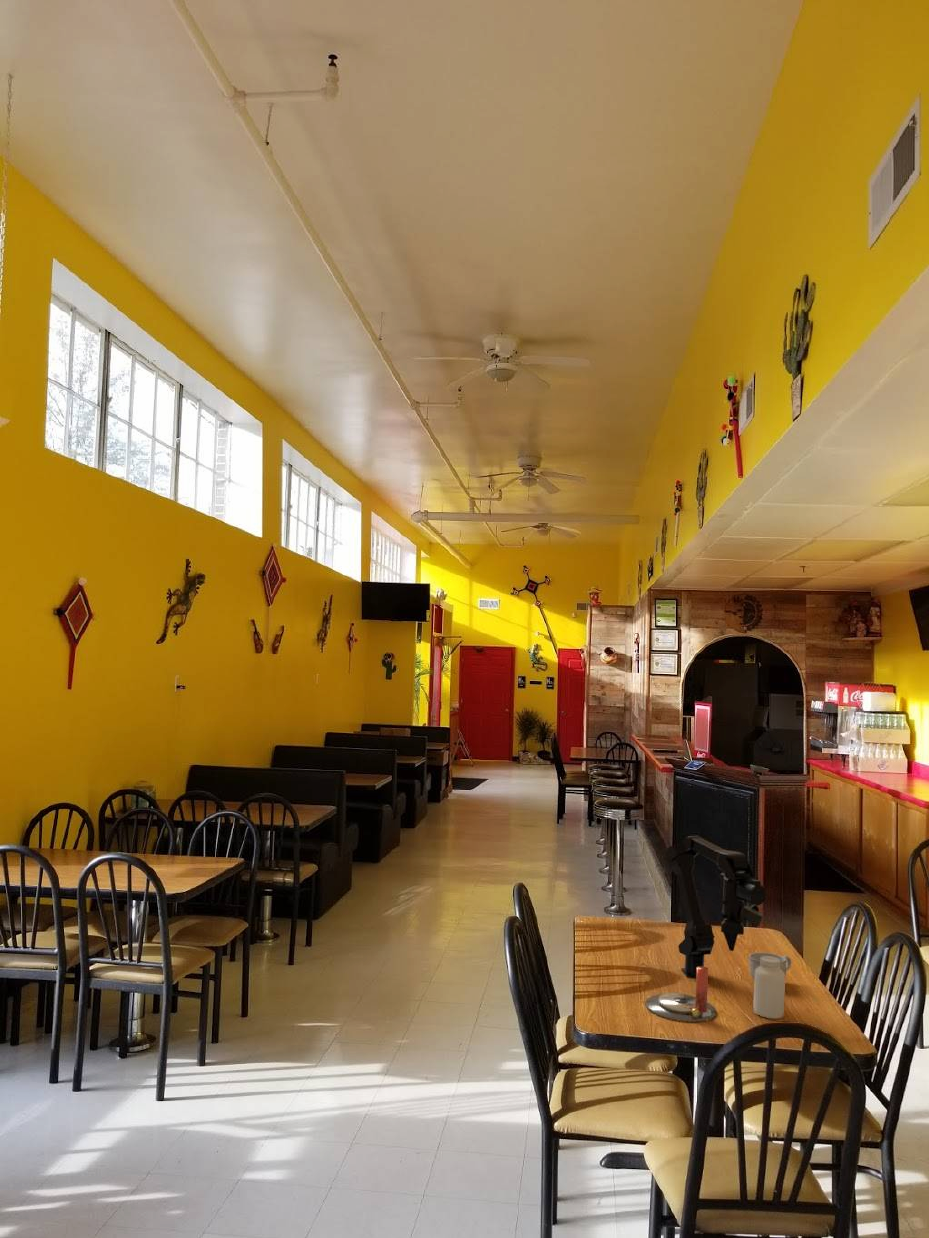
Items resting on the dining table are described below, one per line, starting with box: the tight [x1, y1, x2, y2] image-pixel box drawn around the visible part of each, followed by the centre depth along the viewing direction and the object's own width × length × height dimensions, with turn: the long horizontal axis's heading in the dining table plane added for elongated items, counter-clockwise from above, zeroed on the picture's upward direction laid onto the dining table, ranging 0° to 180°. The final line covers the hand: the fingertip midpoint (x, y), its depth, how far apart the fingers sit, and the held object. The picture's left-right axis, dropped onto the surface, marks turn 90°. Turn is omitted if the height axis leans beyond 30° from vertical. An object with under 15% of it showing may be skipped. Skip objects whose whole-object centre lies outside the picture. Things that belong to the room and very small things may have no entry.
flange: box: [658, 965, 711, 1018], centre depth 248 cm, size 15×12×12 cm
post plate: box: [645, 993, 717, 1023], centre depth 249 cm, size 19×19×3 cm
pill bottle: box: [752, 956, 786, 1020], centre depth 248 cm, size 8×8×15 cm
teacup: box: [748, 952, 792, 981], centre depth 273 cm, size 14×11×8 cm
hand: (731, 950), depth 264 cm, fingers closed
